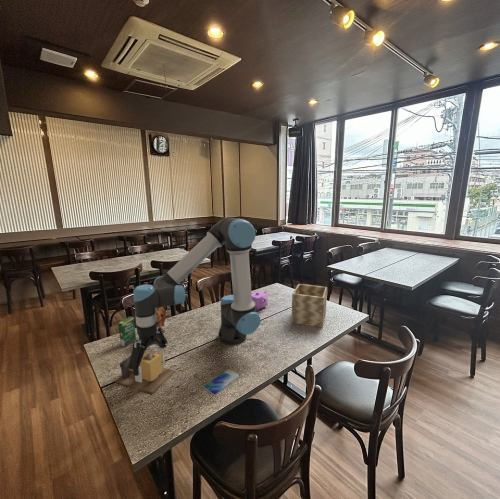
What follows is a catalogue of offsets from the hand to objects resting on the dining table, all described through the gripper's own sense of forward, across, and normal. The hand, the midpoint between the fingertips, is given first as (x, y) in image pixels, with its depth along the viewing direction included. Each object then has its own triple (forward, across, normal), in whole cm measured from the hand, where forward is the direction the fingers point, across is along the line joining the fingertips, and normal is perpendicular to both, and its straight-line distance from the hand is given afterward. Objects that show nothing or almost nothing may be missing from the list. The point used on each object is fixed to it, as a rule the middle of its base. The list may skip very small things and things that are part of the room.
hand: (150, 370), depth 112 cm
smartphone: (+4, -9, +29) cm, 30 cm away
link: (+2, 0, -5) cm, 5 cm away
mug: (+4, -29, -20) cm, 35 cm away
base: (+4, 0, -3) cm, 5 cm away
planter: (+4, -79, +53) cm, 95 cm away
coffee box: (+4, -18, -30) cm, 35 cm away
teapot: (+4, -83, +18) cm, 85 cm away
